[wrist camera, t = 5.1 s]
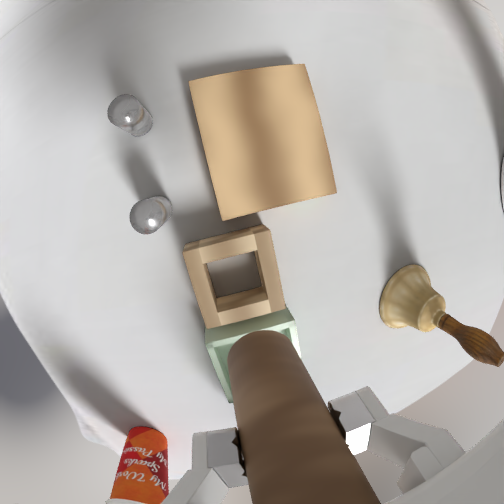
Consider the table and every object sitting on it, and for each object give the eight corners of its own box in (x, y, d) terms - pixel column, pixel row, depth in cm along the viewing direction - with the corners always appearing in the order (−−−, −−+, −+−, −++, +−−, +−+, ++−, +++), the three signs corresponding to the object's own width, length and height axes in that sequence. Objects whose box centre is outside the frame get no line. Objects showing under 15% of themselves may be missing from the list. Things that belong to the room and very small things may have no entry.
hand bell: (401, 253, 27) (514, 308, 12) (437, 278, 29) (529, 329, 14) (366, 317, 29) (457, 403, 13) (406, 333, 31) (485, 402, 15)
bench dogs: (150, 107, 20) (136, 89, 15) (175, 219, 23) (166, 229, 18) (125, 115, 20) (105, 101, 15) (149, 226, 23) (134, 238, 18)
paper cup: (175, 427, 29) (172, 517, 16) (174, 454, 31) (172, 531, 17) (118, 416, 27) (97, 501, 14) (123, 445, 29) (110, 519, 16)
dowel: (289, 321, 12) (396, 499, 3) (298, 372, 13) (376, 525, 4) (218, 340, 11) (252, 547, 3) (236, 390, 12) (275, 557, 4)
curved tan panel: (296, 73, 21) (304, 63, 19) (325, 191, 25) (336, 193, 22) (190, 90, 21) (188, 81, 18) (221, 217, 24) (222, 221, 22)
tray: (286, 305, 26) (294, 320, 24) (297, 366, 29) (305, 383, 26) (205, 326, 26) (205, 343, 23) (226, 385, 28) (229, 403, 25)
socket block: (263, 224, 24) (270, 230, 21) (277, 295, 26) (285, 308, 23) (185, 243, 23) (182, 252, 21) (206, 313, 25) (206, 329, 23)
